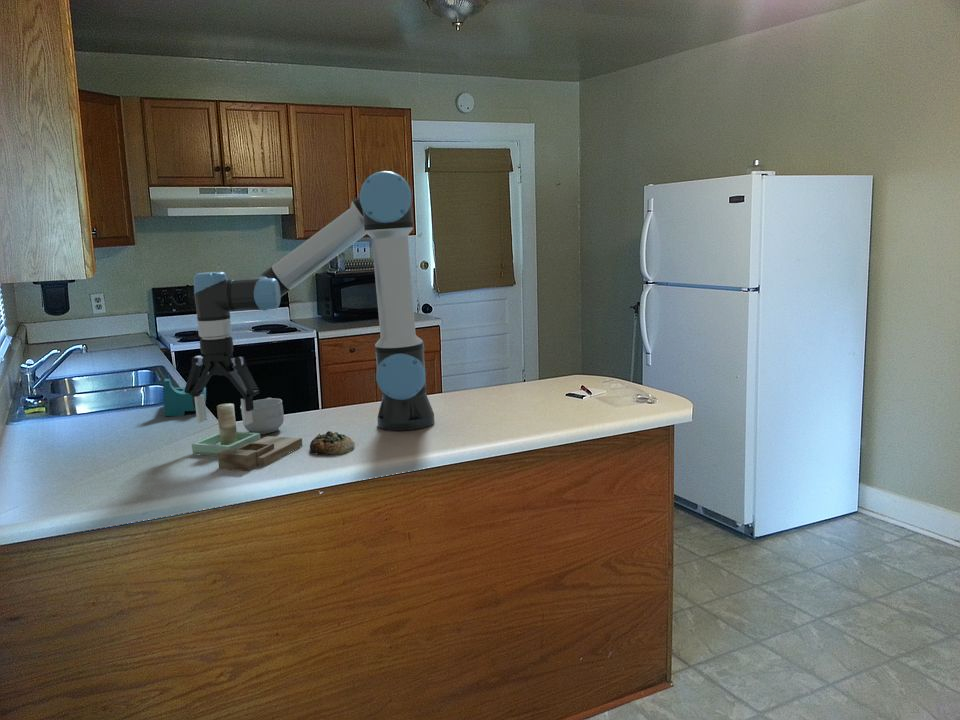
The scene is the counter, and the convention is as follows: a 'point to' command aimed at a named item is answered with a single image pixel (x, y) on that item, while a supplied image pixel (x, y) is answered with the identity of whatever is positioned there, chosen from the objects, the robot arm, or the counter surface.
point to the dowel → (227, 424)
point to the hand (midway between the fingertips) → (224, 422)
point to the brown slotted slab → (271, 448)
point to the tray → (214, 445)
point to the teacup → (266, 416)
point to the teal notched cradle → (177, 400)
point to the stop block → (237, 460)
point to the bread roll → (331, 444)
